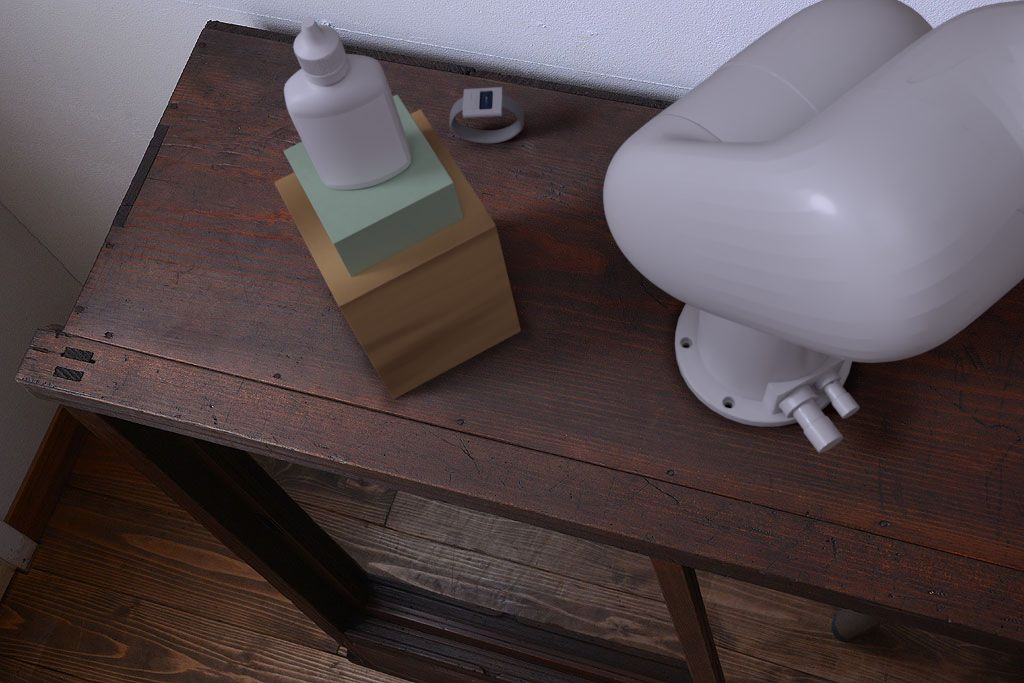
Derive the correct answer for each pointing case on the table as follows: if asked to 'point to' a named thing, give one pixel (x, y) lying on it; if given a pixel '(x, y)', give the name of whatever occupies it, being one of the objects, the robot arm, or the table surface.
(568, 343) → the table surface
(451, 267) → the stand
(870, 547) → the table surface
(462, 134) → the wristwatch
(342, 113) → the eye dropper bottle
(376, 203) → the block
